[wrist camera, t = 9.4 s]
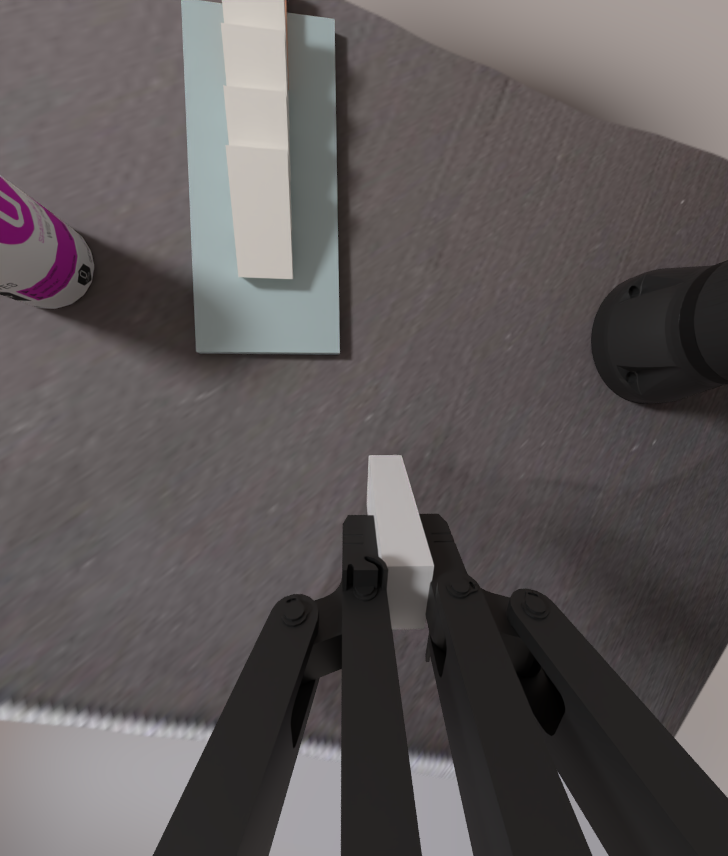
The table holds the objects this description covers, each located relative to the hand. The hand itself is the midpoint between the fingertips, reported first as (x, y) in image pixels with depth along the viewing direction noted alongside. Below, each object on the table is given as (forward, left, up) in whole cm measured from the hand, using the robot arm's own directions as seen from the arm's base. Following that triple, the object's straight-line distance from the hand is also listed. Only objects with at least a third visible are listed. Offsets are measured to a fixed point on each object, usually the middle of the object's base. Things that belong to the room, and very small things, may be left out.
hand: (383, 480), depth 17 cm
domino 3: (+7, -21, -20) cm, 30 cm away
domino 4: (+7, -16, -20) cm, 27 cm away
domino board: (+7, -25, -22) cm, 34 cm away
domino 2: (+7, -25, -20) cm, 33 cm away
